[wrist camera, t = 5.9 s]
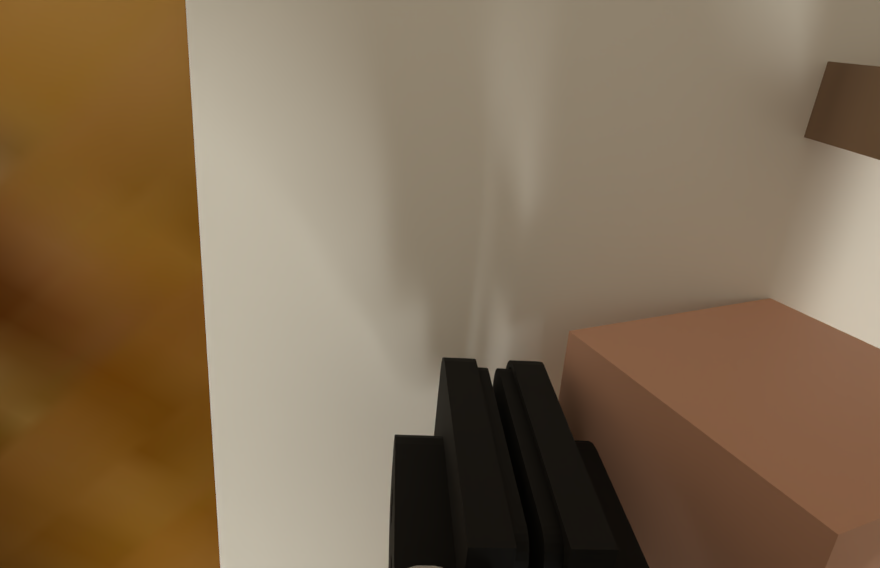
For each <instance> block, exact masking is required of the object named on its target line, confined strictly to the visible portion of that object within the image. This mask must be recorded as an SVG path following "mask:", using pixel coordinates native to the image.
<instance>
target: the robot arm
mask: <svg viewBox="0 0 880 568" xmlns="http://www.w3.org/2000/svg"><path fill="white" fill-rule="evenodd" d="M389 568H649V565H648V563H647V561H646V559H645V556H644V554H643V552H642V550H641V547H640V545H639V543H638V541H637V539H636V536H635V534H634V532H633V530H632V527H631V525H630V523H629V521H628V518H627V516H626V514H625V512H624V509H623V507H622V505H621V503H620V500H619V498H618V496H617V494H616V491H615V489H614V487H613V485H612V482H611V480H610V478H609V476H608V474H607V471H606V469H605V467H604V465H603V462H602V460H601V458H600V456H599V453H598V451H597V449H596V447H595V446H594V444H593V443H592V442H590V441H579V440H574V438H573V435H572V433H571V430H570V428H569V425H568V423H567V420H566V418H565V415H564V413H563V411H562V408H561V406H560V403H559V401H558V398H557V396H556V393H555V391H554V388H553V386H552V383H551V381H550V378H549V376H548V373H547V371H546V368H545V366H544V364H543V362H539V361H516V360H509V361H508V363H507V366H506V369H504V368H497V369H496V371H495V374H494V381H493V386H492V382H491V378H490V374H489V370H488V368H481V367H478V366H477V362H476V359H471V358H449V357H443V358H442V362H441V370H440V380H439V389H438V399H437V409H436V419H435V429H434V436H428V435H398V434H395V436H394V447H393V461H392V476H391V495H390V520H389Z"/></svg>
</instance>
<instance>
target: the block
mask: <svg viewBox="0 0 880 568" xmlns="http://www.w3.org/2000/svg"><path fill="white" fill-rule="evenodd" d="M558 401H559V403H560V406H561V408H562V411H563V413H564V415H565V418H566V420H567V423H568V425H569V428H570V430H571V433H572V435H573V438H574V440H579V441H590V442H592V443H593V444H594V446H595V447H596V449H597V451H598V453H599V456H600V458H601V460H602V462H603V465H604V467H605V469H606V471H607V474H608V476H609V478H610V480H611V482H612V485H613V487H614V489H615V491H616V494H617V496H618V498H619V500H620V503H621V505H622V507H623V509H624V512H625V514H626V516H627V518H628V521H629V523H630V525H631V527H632V530H633V532H634V534H635V536H636V539H637V541H638V543H639V545H640V547H641V550H642V552H643V554H644V556H645V559H646V561H647V563H648V565H649V568H880V349H879V348H877V347H875V346H873V345H871V344H868V343H866V342H864V341H862V340H860V339H858V338H856V337H853V336H851V335H849V334H847V333H845V332H843V331H840V330H838V329H836V328H834V327H832V326H830V325H827V324H825V323H823V322H821V321H819V320H817V319H814V318H812V317H810V316H808V315H806V314H804V313H801V312H799V311H797V310H795V309H793V308H791V307H788V306H786V305H784V304H782V303H780V302H778V301H775V300H773V299H771V298H769V299H763V300H756V301H750V302H744V303H738V304H732V305H726V306H720V307H713V308H707V309H701V310H695V311H689V312H683V313H677V314H670V315H664V316H658V317H652V318H646V319H640V320H633V321H627V322H621V323H615V324H609V325H603V326H597V327H590V328H584V329H578V330H572V331H569V335H568V342H567V348H566V354H565V361H564V367H563V374H562V380H561V387H560V393H559V399H558Z"/></svg>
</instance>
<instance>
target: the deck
mask: <svg viewBox="0 0 880 568" xmlns="http://www.w3.org/2000/svg"><path fill="white" fill-rule="evenodd" d="M185 1H186V17H187V34H188V50H189V66H190V82H191V98H192V115H193V131H194V147H195V163H196V180H197V196H198V212H199V228H200V245H201V261H202V277H203V293H204V310H205V326H206V342H207V358H208V374H209V391H210V407H211V423H212V439H213V456H214V472H215V488H216V504H217V521H218V537H219V553H220V568H389V520H390V495H391V476H392V461H393V447H394V436H395V434H398V435H428V436H434V429H435V419H436V409H437V399H438V389H439V380H440V370H441V362H442V358H443V357H449V358H471V359H476V362H477V366H478V367H481V368H488V370H489V374H490V378H491V382H492V386H493V381H494V374H495V371H496V369H497V368H504V369H506V366H507V363H508V361H509V360H516V361H539V362H543V364H544V366H545V368H546V371H547V373H548V376H549V378H550V381H551V383H552V386H553V388H554V391H555V393H556V396H557V398H558V399H559V393H560V387H561V380H562V374H563V367H564V361H565V354H566V348H567V342H568V335H569V331H572V330H578V329H584V328H590V327H597V326H603V325H609V324H615V323H621V322H627V321H633V320H640V319H646V318H652V317H658V316H664V315H670V314H677V313H683V312H689V311H695V310H701V309H707V308H713V307H720V306H726V305H732V304H738V303H744V302H750V301H756V300H763V299H769V298H771V299H773V300H775V301H778V302H780V303H782V304H784V305H786V306H788V307H791V308H793V309H795V310H797V311H799V312H801V313H804V314H806V315H808V316H810V317H812V318H814V319H817V320H819V321H821V322H823V323H825V324H827V325H830V326H832V327H834V328H836V329H838V330H840V331H843V332H845V333H847V334H849V335H851V336H853V337H856V338H858V339H860V340H862V341H864V342H866V343H868V344H871V345H873V346H875V347H877V348H879V349H880V0H185Z"/></svg>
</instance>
